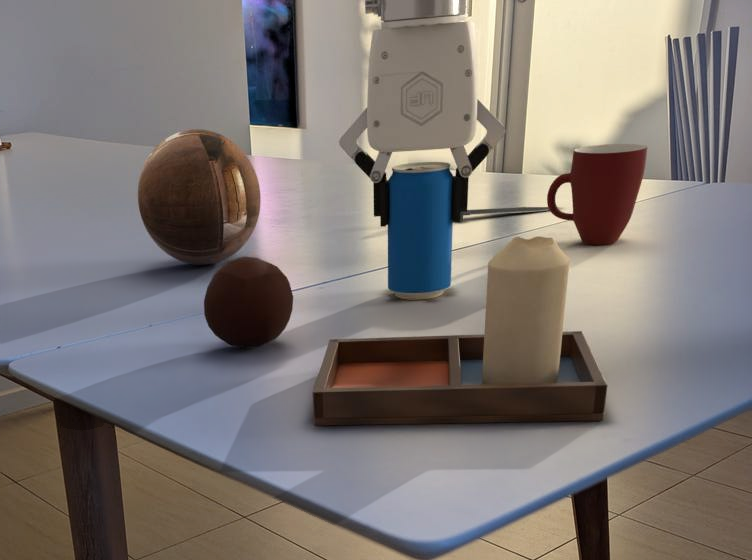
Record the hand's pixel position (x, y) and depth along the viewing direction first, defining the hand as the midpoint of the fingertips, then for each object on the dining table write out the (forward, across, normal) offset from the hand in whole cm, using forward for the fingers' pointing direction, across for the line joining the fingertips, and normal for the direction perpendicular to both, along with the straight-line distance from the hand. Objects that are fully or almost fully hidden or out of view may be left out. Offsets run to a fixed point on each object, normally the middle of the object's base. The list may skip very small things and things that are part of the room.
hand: (420, 220), depth 92 cm
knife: (+7, +8, +43) cm, 44 cm away
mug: (+7, +20, +22) cm, 31 cm away
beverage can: (+7, 0, 0) cm, 7 cm away
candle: (+7, +8, -31) cm, 33 cm away
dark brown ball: (+7, -15, -17) cm, 24 cm away
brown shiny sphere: (+7, -27, +20) cm, 34 cm away
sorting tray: (+7, +3, -31) cm, 32 cm away
